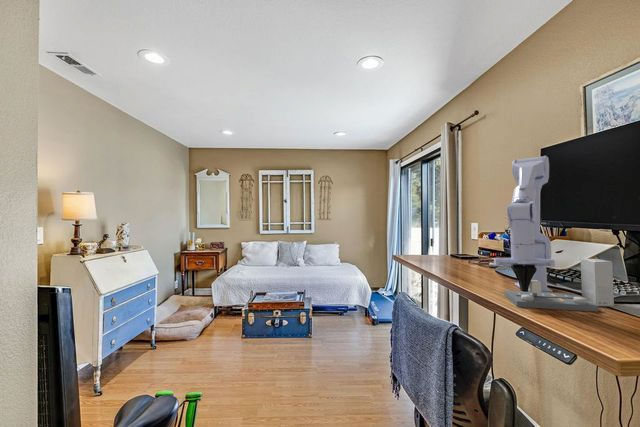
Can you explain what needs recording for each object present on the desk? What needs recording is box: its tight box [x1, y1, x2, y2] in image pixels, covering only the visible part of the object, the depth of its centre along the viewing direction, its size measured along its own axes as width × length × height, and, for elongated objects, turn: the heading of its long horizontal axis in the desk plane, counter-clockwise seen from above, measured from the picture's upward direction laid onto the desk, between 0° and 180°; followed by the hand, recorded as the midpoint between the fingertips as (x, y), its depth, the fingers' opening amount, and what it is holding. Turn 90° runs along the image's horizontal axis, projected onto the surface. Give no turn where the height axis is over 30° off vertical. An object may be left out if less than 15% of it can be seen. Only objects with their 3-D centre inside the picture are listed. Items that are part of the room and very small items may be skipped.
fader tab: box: [528, 280, 542, 296], centre depth 84 cm, size 3×2×4 cm
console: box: [503, 289, 600, 312], centre depth 84 cm, size 12×18×3 cm, turn 72°
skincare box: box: [580, 258, 615, 307], centre depth 82 cm, size 6×4×12 cm
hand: (524, 290), depth 85 cm, fingers closed
